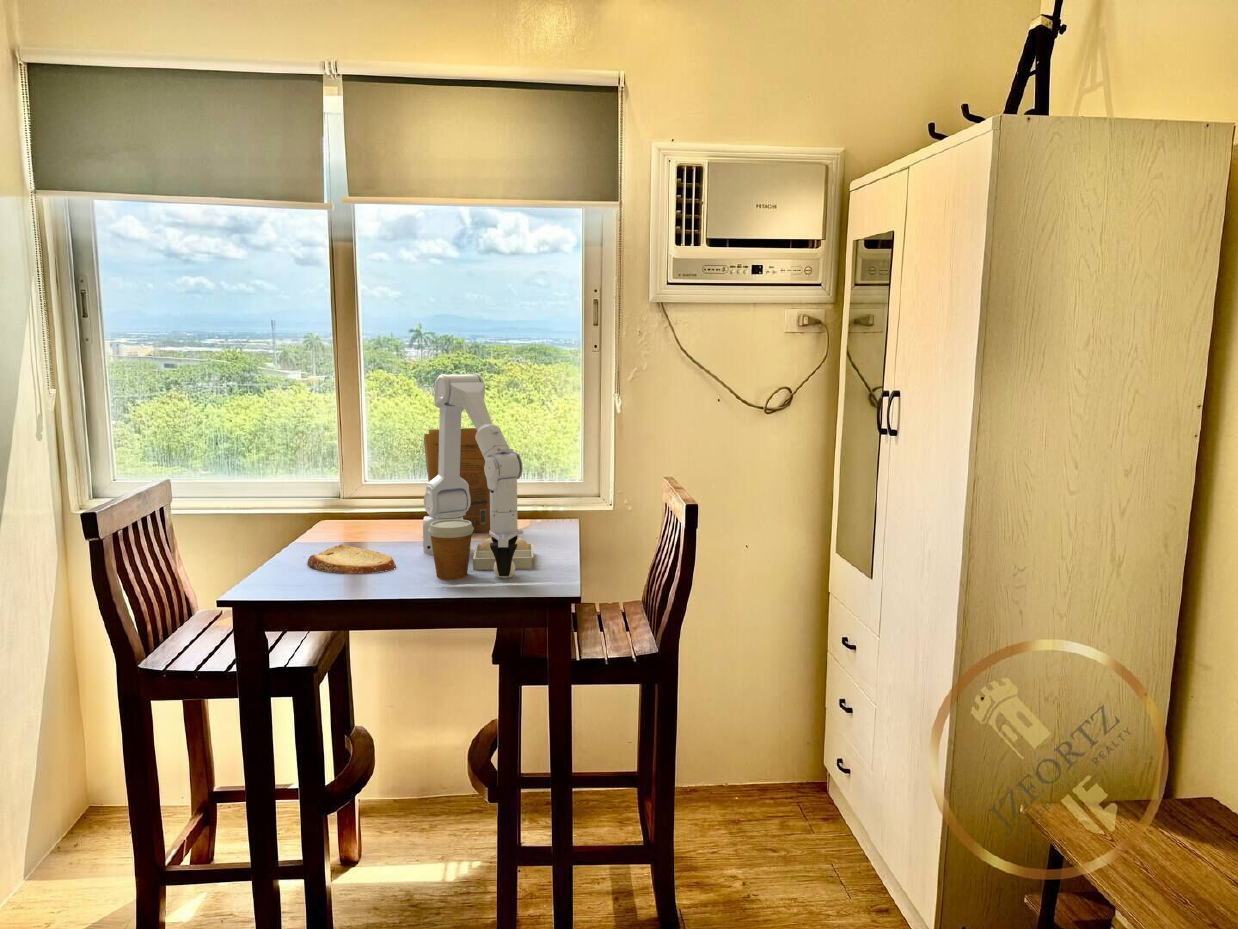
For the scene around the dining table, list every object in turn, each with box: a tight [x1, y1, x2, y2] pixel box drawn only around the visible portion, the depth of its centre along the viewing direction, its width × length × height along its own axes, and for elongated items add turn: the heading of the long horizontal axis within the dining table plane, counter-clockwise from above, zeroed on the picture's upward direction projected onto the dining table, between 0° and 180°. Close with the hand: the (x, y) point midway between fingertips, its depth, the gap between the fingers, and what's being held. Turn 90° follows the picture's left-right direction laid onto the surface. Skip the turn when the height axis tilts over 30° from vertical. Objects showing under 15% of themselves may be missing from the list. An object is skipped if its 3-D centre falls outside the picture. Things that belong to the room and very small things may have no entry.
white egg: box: [493, 561, 516, 579], centre depth 171 cm, size 5×5×5 cm
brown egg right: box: [515, 537, 528, 550], centre depth 187 cm, size 5×5×5 cm
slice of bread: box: [307, 544, 397, 575], centre depth 181 cm, size 18×18×4 cm
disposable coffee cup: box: [428, 519, 474, 581], centre depth 171 cm, size 10×10×12 cm
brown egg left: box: [480, 537, 493, 551], centre depth 186 cm, size 5×5×5 cm
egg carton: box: [472, 542, 534, 571], centre depth 183 cm, size 13×13×3 cm
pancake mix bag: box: [423, 427, 490, 534], centre depth 213 cm, size 7×19×28 cm, turn 92°
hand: (504, 572), depth 171 cm, fingers closed on white egg, 5 cm apart
